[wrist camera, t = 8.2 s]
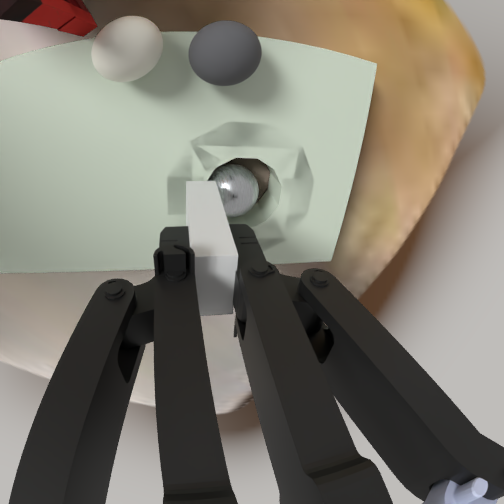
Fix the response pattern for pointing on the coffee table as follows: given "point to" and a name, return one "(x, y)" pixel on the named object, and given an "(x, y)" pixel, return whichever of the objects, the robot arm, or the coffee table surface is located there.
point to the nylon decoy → (127, 49)
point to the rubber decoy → (225, 53)
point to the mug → (50, 14)
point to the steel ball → (236, 188)
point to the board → (172, 152)
